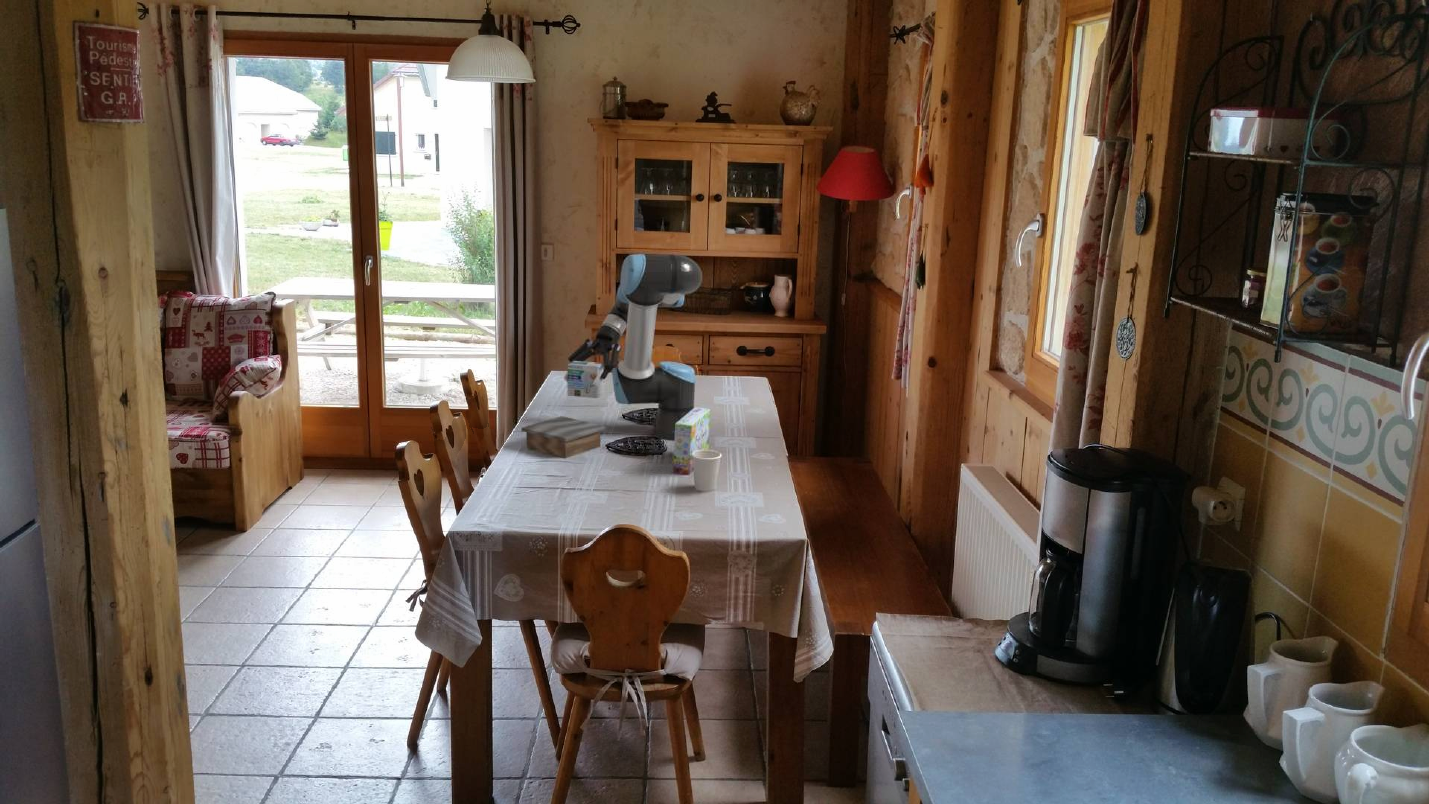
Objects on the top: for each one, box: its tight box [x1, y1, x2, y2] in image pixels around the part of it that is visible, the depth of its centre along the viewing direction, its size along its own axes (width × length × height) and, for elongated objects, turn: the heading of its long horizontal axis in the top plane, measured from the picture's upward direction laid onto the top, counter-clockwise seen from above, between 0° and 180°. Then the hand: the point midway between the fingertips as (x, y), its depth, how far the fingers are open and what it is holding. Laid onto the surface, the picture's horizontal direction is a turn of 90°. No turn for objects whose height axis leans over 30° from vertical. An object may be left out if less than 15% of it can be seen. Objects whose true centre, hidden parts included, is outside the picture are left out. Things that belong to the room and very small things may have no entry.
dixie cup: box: [691, 449, 722, 493], centre depth 298 cm, size 8×8×10 cm
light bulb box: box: [566, 361, 605, 399], centre depth 354 cm, size 11×7×11 cm, turn 79°
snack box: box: [672, 407, 711, 476], centre depth 319 cm, size 21×6×15 cm, turn 166°
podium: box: [521, 415, 606, 459], centre depth 332 cm, size 18×18×6 cm
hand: (580, 383), depth 352 cm, fingers closed on light bulb box, 12 cm apart
